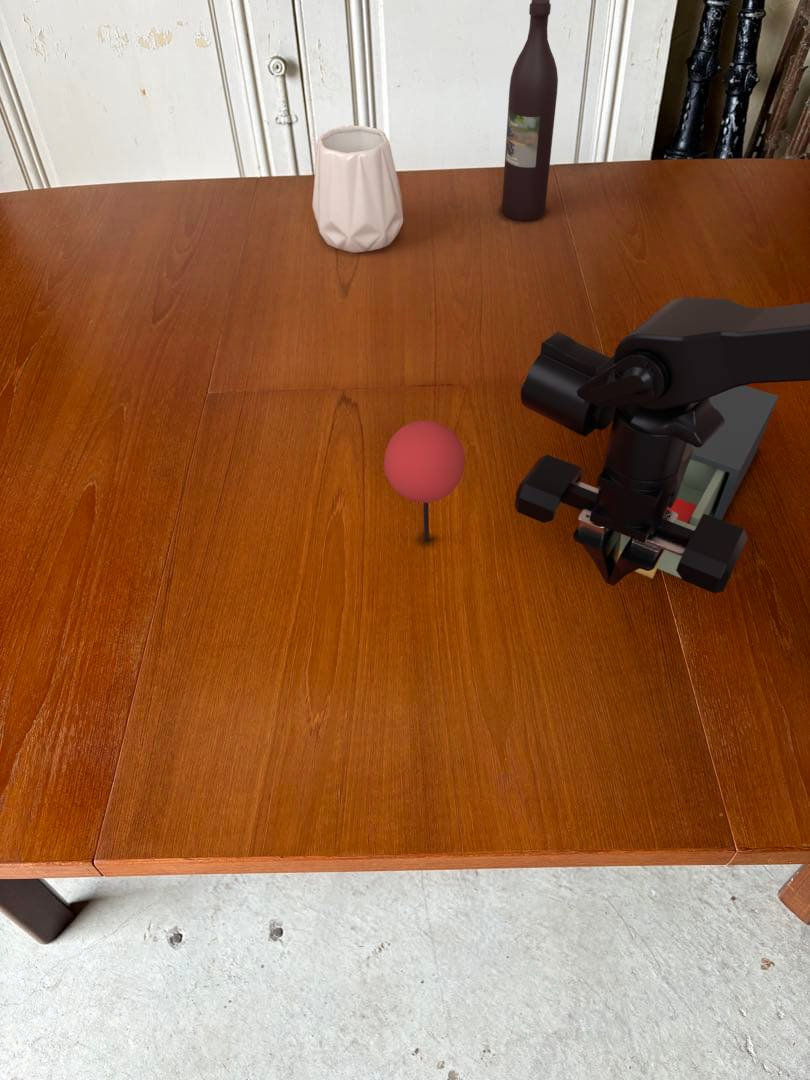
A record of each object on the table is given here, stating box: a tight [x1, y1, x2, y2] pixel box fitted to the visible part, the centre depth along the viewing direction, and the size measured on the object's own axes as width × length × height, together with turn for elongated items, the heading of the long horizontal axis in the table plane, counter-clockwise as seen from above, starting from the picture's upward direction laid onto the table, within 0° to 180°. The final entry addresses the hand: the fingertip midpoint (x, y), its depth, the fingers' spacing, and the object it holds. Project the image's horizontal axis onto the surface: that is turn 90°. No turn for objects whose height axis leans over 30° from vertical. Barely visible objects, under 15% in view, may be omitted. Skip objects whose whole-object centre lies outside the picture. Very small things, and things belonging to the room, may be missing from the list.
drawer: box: [618, 459, 727, 579], centre depth 83 cm, size 17×10×6 cm, turn 148°
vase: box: [311, 125, 404, 254], centre depth 125 cm, size 14×14×15 cm
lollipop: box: [383, 420, 466, 543], centre depth 81 cm, size 8×8×15 cm
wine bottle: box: [501, 0, 559, 222], centre depth 123 cm, size 7×7×30 cm
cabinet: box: [687, 385, 779, 521], centre depth 90 cm, size 14×12×8 cm
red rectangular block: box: [667, 498, 697, 524], centre depth 84 cm, size 7×3×3 cm, turn 58°
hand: (611, 581), depth 75 cm, fingers closed
